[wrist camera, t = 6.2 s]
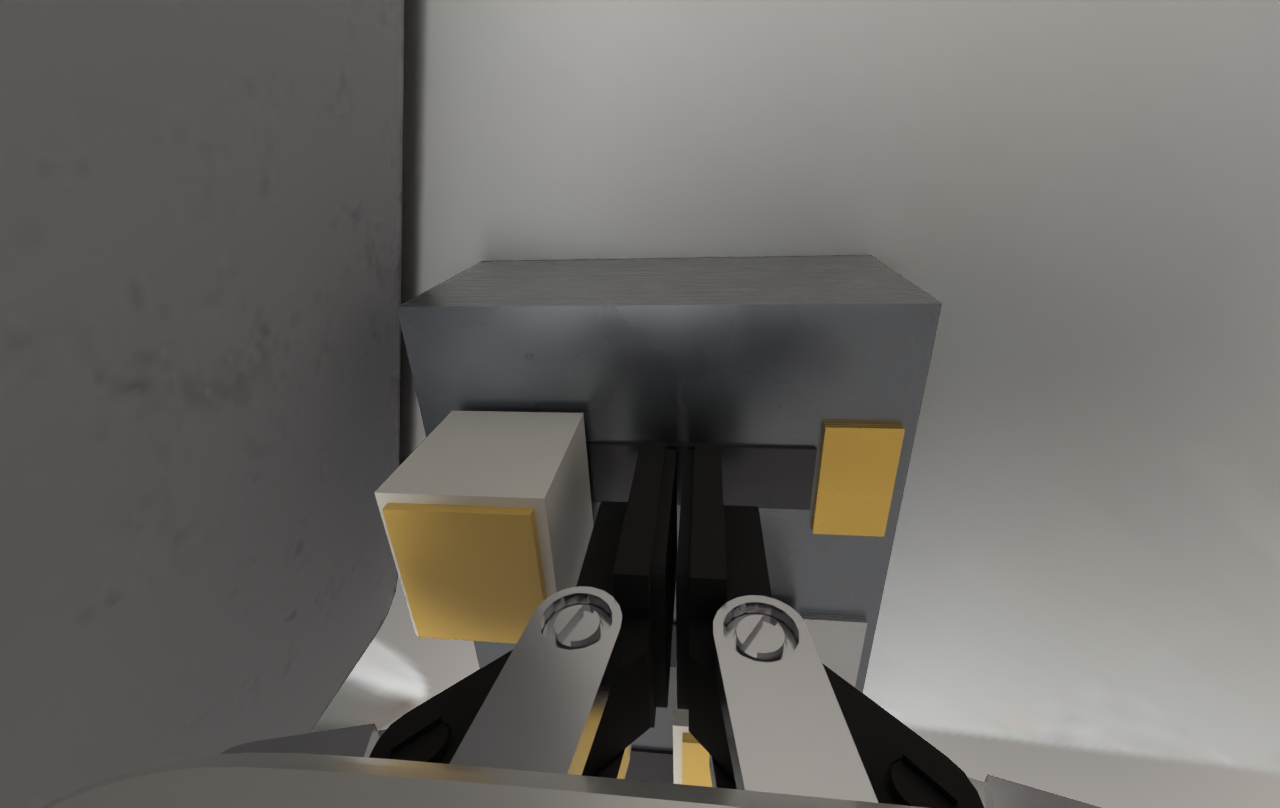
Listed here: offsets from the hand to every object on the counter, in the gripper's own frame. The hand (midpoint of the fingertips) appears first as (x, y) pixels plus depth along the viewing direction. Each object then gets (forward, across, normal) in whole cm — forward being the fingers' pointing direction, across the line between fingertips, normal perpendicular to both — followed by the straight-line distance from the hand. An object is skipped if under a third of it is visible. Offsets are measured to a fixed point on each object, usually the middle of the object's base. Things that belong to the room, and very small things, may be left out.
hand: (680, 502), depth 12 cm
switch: (+1, +4, 0) cm, 4 cm away
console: (+6, +1, +6) cm, 8 cm away
